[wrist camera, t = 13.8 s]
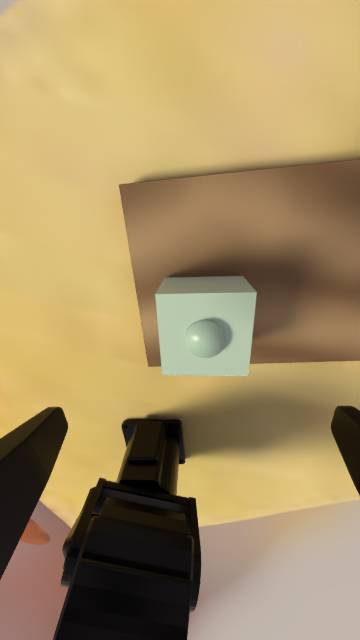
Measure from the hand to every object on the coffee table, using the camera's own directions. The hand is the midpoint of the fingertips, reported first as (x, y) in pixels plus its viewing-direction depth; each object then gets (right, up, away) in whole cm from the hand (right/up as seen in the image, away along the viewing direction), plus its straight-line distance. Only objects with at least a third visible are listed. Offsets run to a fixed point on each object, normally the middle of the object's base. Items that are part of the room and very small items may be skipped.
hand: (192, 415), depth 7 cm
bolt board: (+5, +6, +10) cm, 13 cm away
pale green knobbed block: (+1, +4, +10) cm, 11 cm away
